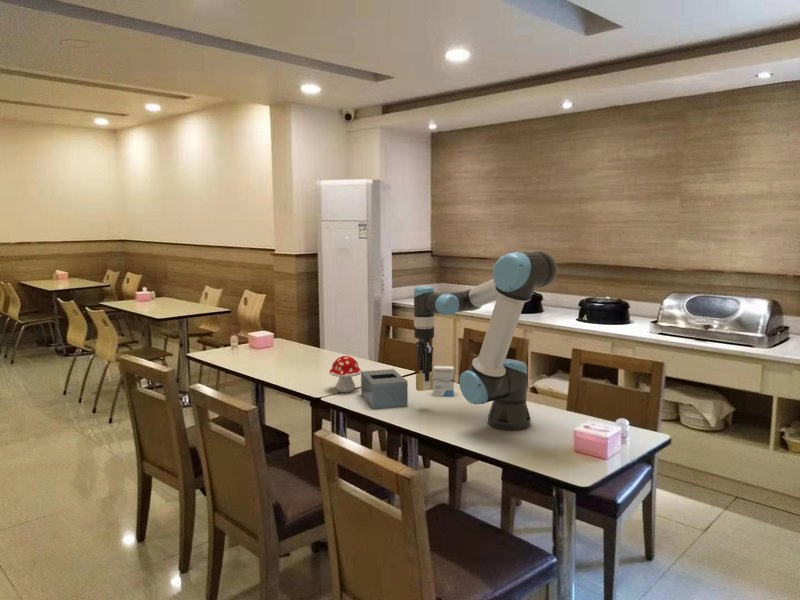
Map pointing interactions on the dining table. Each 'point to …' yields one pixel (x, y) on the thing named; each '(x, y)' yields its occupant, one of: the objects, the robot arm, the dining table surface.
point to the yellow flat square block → (420, 382)
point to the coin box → (384, 389)
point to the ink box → (443, 381)
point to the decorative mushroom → (345, 373)
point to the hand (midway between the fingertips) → (424, 388)
